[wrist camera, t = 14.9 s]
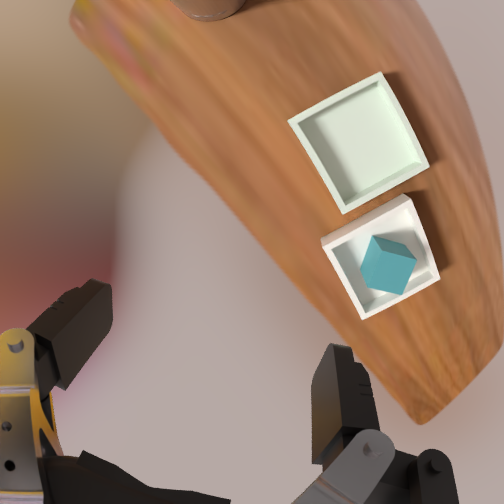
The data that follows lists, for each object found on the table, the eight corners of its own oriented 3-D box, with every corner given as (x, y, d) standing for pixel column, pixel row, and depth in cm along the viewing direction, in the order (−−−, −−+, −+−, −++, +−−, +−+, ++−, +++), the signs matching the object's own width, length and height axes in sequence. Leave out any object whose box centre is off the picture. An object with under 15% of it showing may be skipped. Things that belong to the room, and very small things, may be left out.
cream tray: (320, 238, 40) (322, 246, 37) (403, 193, 36) (411, 198, 34) (358, 308, 44) (362, 320, 41) (432, 269, 40) (440, 278, 37)
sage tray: (287, 121, 35) (287, 120, 32) (374, 75, 31) (380, 71, 28) (339, 208, 38) (342, 214, 36) (420, 163, 34) (429, 166, 32)
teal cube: (359, 269, 40) (367, 287, 36) (371, 235, 38) (381, 250, 34) (391, 277, 40) (401, 295, 36) (404, 244, 38) (417, 260, 34)
